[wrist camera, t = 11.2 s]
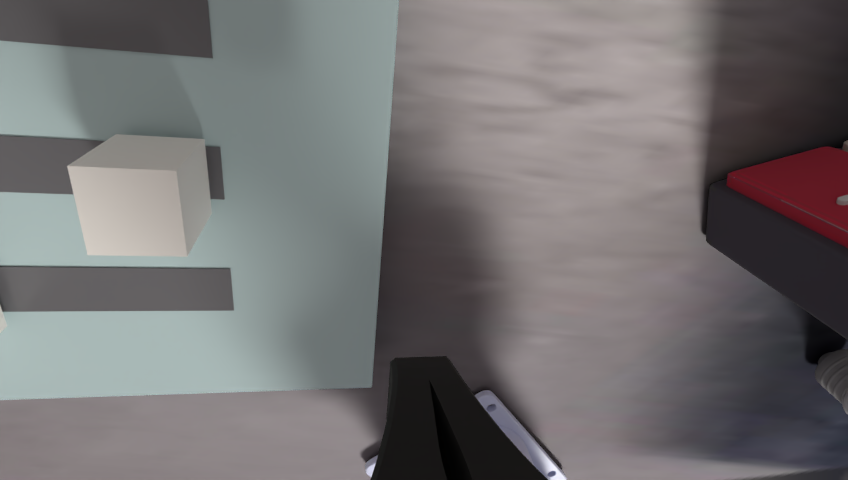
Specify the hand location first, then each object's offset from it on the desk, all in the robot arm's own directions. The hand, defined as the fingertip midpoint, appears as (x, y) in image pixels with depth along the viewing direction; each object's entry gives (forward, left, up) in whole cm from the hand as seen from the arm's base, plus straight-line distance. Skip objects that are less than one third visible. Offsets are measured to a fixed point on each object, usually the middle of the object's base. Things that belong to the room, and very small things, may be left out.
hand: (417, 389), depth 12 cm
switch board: (+8, +7, -9) cm, 14 cm away
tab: (+7, +4, -7) cm, 10 cm away
